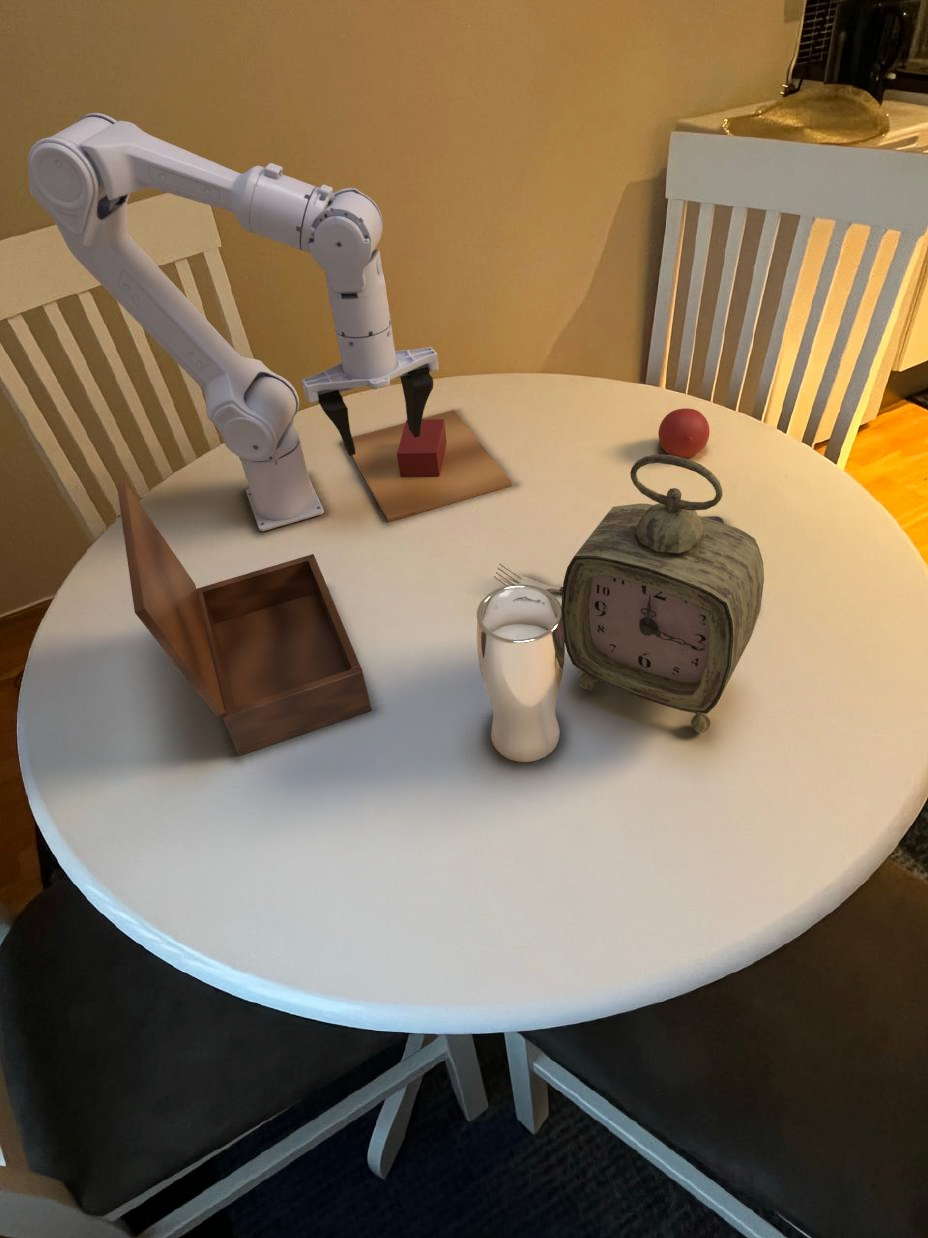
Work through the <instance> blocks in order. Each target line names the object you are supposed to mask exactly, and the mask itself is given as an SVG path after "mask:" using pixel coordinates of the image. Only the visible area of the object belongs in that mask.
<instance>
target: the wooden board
mask: <svg viewBox="0 0 928 1238" xmlns="http://www.w3.org/2000/svg"><path fill="white" fill-rule="evenodd" d="M426 419H444V422H445V431H446V441H447V443H446V448H445V453H444V457H443V462H442V467H441V472H440V476H439V477H400V471H399V465H398V458H397V451H398V447H399V444H400V440H401V437H402V433H403V430H404V426H405V423H406V422H404V423H401V424H396V425H393V426H389V427H385V428H382V429H378V430H375V431H371V432H367V433H363V434H360V435H356V436H352V439H353V443H354V446H355V453H356V454H354V455H351V457H352V459H353V461H354V463H355V464H356V466H357V468H358V470H359V471H360V474H361V475H362V477H363V479H364V480H365V483H366V485H367V486H368V488H369V490H370V492H371V493H372V495H373V496H374V499H375V500H376V502H377V504H378V506H379V507H380V510H381V511H382V513H383V515H384V517H385V518H386V520H387V522H388V523H390V522H394V521H397V520H400V519H404V518H406V517H411V516H414V515H417V514H420V513H424V512H428V511H430V510H434V509H437V508H441V507H445V506H448V505H451V504H454V503H457V502H461V501H464V500H468V499H471V498H475V497H478V496H482V495H484V494H488V493H491V492H494V491H498V490H502V489H505V488H508V487H512V486H513V482H512V481H511V480H510V479H509V477H508V476H507V475H506V473H505V472H504V470H502V468H501V467H500V466H499V464H498V463H497V462H496V461H495V459H494V458H493V457H492V455H490V453H489V452H488V451H487V449H486V448H485V447H484V445H482V443H481V442H480V440H479V439H478V438H477V437H476V435H474V433H473V432H472V431H471V430H470V428H469V427H468V426H467V424H466V423H465V422H464V420H463V419H462V418H461V417H460V416H459V414H458V412H456V411H455V409H452V410H448V411H444V412H441V413H438V414H434V415H430V416H427V417H422V420H426Z"/></svg>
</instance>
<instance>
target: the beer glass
mask: <svg viewBox="0 0 928 1238" xmlns="http://www.w3.org/2000/svg"><path fill="white" fill-rule="evenodd" d="M509 585H510V586H506V585H505V586H501V587H499V588H497V589H495V590H493V591H491V592H490V593H488V594H487V595H486V596H485V597H484V598H483V599H482V600H481V601H480V602H479V605H478V606H477V609H476V648H477V649H476V650H477V659H478V666H479V671H480V674H481V677H482V682H483V684H484V687H485V690H486V693H487V695H488V698H489V700H490V701H489V702H490V703H491V707H492V711H493V712H492V713H493V717H492V723H491V727H490V728H491V729H490V739H491V743H492V745H493V747H494V748H495V750H496V751H497V752H498V753H499V755H501V756H503V757H504V758H506V759H508V760H510V761H513V762H518V763H532V762H536V761H539V760H542V759H544V758H546V757H547V756H549V755H550V754H551V753H553V751H554V750H555V749H556V748H557V745H558V744H559V742H560V737H561V736H560V735H561V734H560V731H561V730H560V726H559V722H558V719H557V716H556V702H557V698H558V694H559V691H560V686H561V683H562V678H563V673H564V668H565V655H566V646H565V641H564V629H563V621H562V608H561V603H560V601H559V599H558V598H557V597H556V596H555V595H554V594H552V592H551V591H549V590H545V589H542V588H540V587H537V586H532V585H524V584H519V583H518V585H513V584H509Z"/></svg>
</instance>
